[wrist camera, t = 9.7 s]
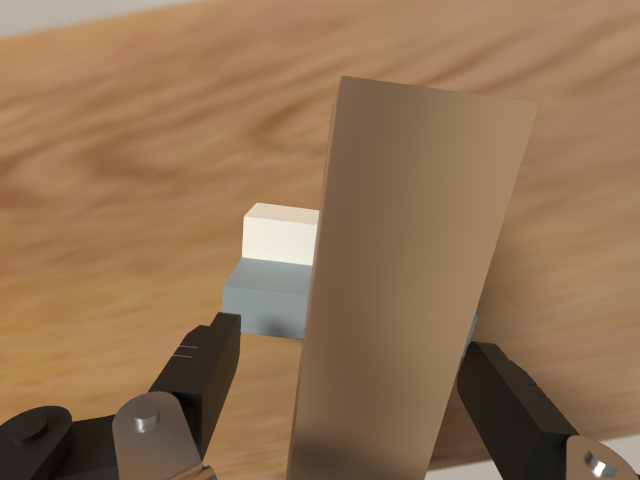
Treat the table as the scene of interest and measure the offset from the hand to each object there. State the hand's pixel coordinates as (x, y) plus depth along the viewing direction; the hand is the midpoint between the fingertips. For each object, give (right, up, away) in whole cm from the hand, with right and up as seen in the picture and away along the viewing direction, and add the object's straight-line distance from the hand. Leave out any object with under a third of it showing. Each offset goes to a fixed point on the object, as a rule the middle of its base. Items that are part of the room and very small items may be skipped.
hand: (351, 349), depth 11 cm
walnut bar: (0, 0, +2) cm, 2 cm away
